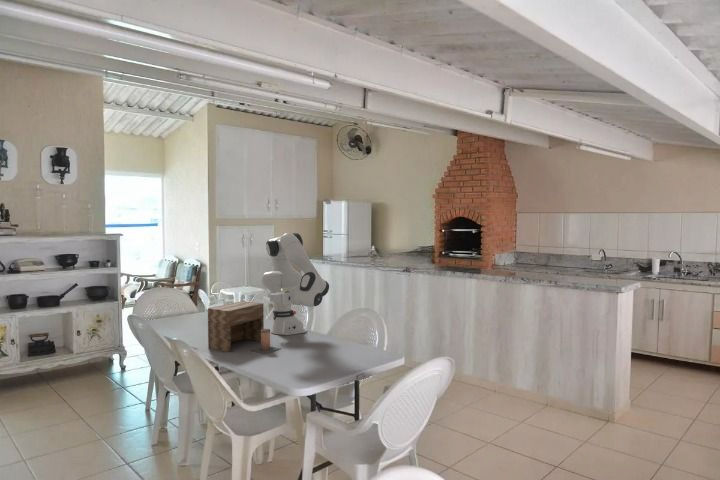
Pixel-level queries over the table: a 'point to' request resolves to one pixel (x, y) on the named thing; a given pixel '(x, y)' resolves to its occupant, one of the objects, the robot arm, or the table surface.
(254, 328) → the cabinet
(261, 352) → the mat
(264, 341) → the canister
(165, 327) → the table surface
